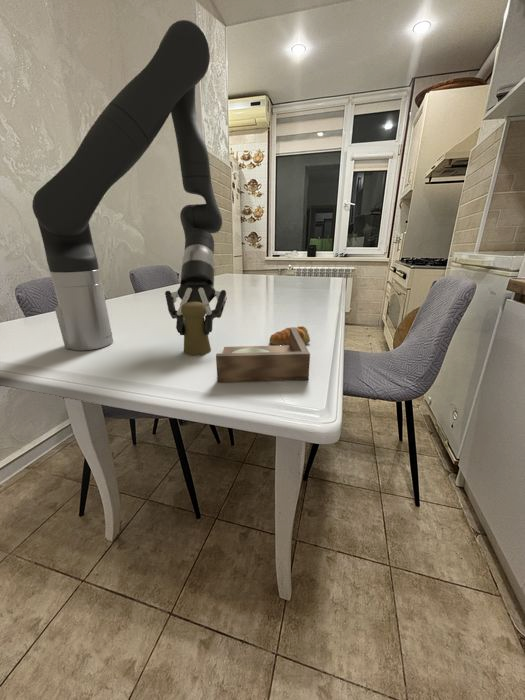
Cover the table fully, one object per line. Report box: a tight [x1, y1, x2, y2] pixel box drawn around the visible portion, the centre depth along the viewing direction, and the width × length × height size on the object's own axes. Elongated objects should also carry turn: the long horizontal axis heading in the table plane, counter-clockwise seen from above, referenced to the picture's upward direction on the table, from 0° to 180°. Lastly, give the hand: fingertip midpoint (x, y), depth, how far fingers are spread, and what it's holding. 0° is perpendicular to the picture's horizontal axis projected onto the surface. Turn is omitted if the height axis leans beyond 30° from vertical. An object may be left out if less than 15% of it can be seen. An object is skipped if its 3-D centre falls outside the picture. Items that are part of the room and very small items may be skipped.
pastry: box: [269, 325, 311, 346], centre depth 70 cm, size 9×7×4 cm
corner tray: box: [215, 326, 311, 384], centre depth 57 cm, size 16×16×5 cm
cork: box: [181, 302, 212, 357], centre depth 63 cm, size 6×6×11 cm
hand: (194, 333), depth 62 cm, fingers closed on cork, 4 cm apart
